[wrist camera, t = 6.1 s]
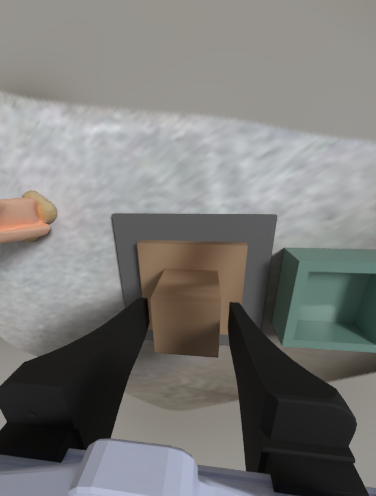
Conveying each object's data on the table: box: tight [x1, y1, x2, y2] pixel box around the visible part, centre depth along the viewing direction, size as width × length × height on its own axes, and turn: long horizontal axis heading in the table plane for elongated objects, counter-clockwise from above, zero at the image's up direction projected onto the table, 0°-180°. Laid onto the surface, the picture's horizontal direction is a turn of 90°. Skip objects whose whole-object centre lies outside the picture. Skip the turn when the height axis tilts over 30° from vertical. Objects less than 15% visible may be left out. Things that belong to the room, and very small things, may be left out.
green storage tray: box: [272, 248, 376, 353], centre depth 14 cm, size 7×7×2 cm
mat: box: [112, 214, 277, 346], centre depth 16 cm, size 12×12×1 cm
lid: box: [137, 240, 248, 358], centre depth 13 cm, size 8×8×5 cm
